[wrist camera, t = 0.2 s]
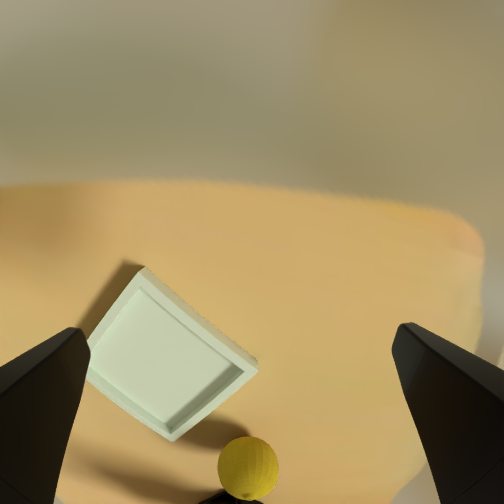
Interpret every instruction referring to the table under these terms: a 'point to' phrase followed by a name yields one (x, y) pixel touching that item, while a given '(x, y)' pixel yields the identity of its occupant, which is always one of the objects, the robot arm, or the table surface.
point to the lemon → (248, 468)
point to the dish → (164, 358)
